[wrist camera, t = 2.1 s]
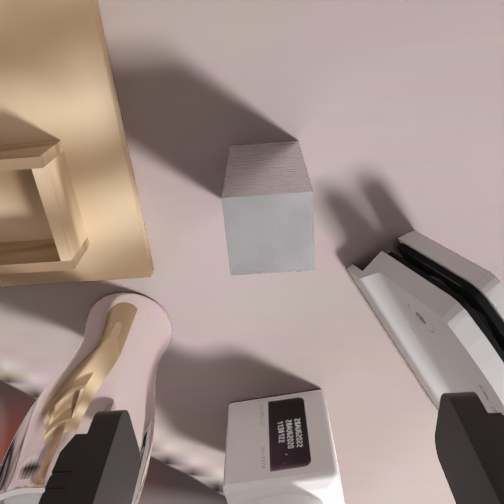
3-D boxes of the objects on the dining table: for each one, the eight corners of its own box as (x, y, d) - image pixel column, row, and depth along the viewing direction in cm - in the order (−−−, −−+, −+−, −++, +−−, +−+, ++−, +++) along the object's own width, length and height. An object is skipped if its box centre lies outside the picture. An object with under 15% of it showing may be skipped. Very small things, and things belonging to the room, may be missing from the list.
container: (227, 401, 38) (215, 578, 26) (323, 386, 37) (353, 562, 26) (248, 463, 41) (245, 642, 30) (335, 451, 41) (367, 630, 29)
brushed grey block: (230, 145, 28) (221, 198, 21) (298, 140, 27) (312, 191, 20) (236, 208, 30) (230, 275, 23) (300, 203, 29) (314, 270, 22)
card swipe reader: (343, 264, 32) (439, 331, 22) (398, 221, 32) (515, 270, 23) (439, 413, 38) (544, 511, 29) (484, 376, 38) (602, 463, 29)
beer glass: (197, 324, 34) (161, 533, 21) (140, 376, 36) (76, 593, 23) (118, 268, 32) (21, 462, 19) (63, 328, 34) (-57, 537, 21)
